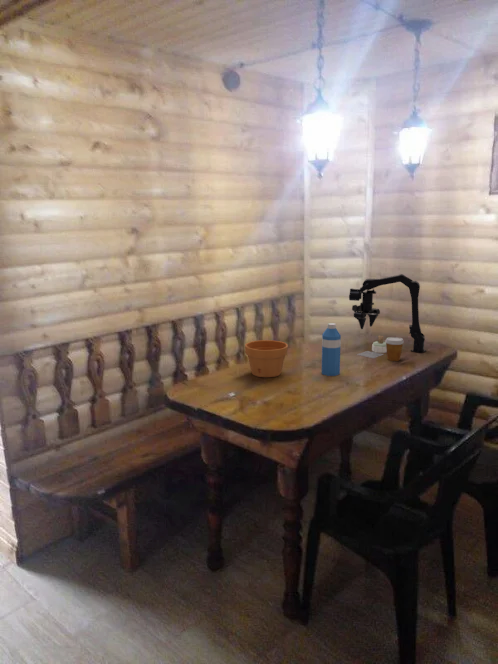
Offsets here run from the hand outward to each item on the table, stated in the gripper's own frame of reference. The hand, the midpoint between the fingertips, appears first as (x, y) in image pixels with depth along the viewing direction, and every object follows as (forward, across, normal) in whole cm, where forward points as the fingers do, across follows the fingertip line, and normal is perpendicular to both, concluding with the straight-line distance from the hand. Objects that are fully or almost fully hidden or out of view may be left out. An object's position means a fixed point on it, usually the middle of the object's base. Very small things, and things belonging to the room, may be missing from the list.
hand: (366, 327), depth 322 cm
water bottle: (+12, +54, +15) cm, 57 cm away
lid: (+8, +2, +11) cm, 14 cm away
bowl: (+12, +2, +11) cm, 16 cm away
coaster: (+12, +13, +12) cm, 21 cm away
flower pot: (+12, +76, -8) cm, 77 cm away
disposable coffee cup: (+12, +13, +26) cm, 32 cm away
